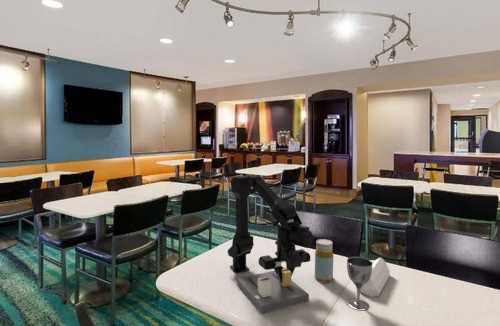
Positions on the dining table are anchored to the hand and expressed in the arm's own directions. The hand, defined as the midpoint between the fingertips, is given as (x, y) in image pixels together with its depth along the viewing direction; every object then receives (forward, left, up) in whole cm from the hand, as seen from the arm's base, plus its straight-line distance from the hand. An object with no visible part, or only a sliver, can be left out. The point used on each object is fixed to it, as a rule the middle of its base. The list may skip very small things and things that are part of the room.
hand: (284, 281), depth 113 cm
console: (-1, -5, -4) cm, 6 cm away
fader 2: (0, 0, -1) cm, 1 cm away
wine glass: (+18, +18, -4) cm, 26 cm away
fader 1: (+4, -10, -1) cm, 11 cm away
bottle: (-2, +19, -4) cm, 19 cm away
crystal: (+9, +35, -4) cm, 36 cm away
